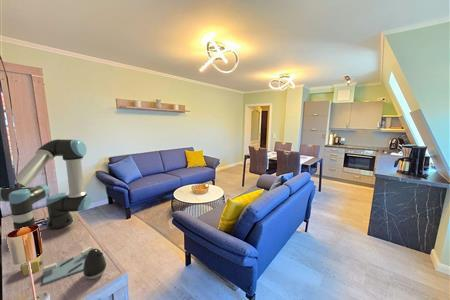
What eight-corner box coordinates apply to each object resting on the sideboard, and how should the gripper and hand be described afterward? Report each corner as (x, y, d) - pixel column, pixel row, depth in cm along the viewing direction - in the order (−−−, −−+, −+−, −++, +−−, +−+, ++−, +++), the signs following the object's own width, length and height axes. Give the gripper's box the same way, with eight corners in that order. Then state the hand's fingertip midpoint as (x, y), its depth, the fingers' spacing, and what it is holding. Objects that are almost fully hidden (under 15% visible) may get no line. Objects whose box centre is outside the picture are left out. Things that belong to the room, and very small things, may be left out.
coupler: (23, 268, 105) (21, 259, 104) (44, 262, 110) (42, 253, 109) (20, 276, 100) (18, 266, 99) (42, 269, 105) (40, 260, 104)
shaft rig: (46, 267, 107) (45, 259, 106) (94, 251, 119) (93, 244, 118) (42, 285, 96) (41, 276, 95) (95, 266, 109) (94, 258, 108)
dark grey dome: (96, 284, 98) (93, 258, 95) (79, 280, 100) (75, 255, 97) (111, 268, 108) (109, 245, 105) (95, 265, 109) (92, 241, 106)
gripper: (19, 210, 107) (25, 244, 111) (4, 234, 87) (12, 274, 91) (38, 207, 111) (43, 240, 115) (28, 229, 91) (34, 268, 95)
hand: (29, 255), depth 103 cm, fingers open, 13 cm apart
